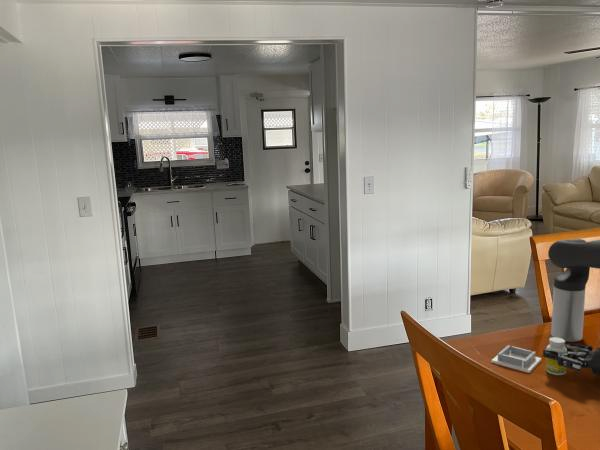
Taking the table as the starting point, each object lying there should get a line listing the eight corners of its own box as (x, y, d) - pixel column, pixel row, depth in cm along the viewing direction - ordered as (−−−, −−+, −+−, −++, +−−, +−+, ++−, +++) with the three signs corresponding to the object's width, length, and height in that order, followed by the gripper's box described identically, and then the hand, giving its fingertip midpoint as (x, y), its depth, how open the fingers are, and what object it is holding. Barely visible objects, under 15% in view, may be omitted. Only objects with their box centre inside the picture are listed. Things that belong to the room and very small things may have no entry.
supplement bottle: (552, 365, 146) (553, 334, 145) (570, 372, 142) (571, 340, 140) (541, 370, 143) (542, 339, 142) (559, 377, 139) (561, 345, 137)
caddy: (504, 351, 157) (504, 342, 157) (541, 360, 150) (541, 351, 149) (491, 362, 150) (491, 353, 149) (529, 373, 142) (529, 363, 142)
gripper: (621, 343, 136) (555, 329, 148) (609, 361, 126) (539, 345, 137) (619, 369, 138) (554, 353, 149) (607, 389, 127) (538, 370, 139)
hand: (547, 349), depth 143 cm, fingers closed on supplement bottle, 5 cm apart
